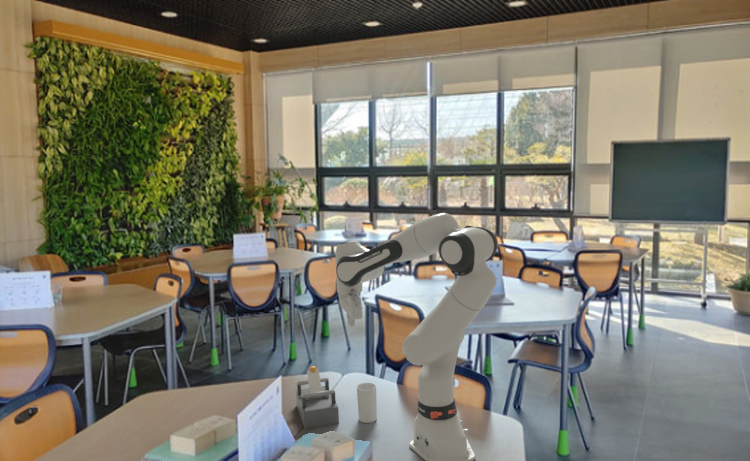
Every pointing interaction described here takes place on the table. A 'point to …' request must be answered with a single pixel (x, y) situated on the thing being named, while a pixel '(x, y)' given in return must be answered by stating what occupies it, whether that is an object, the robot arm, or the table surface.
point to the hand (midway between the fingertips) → (351, 325)
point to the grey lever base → (317, 405)
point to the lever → (314, 380)
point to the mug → (367, 402)
